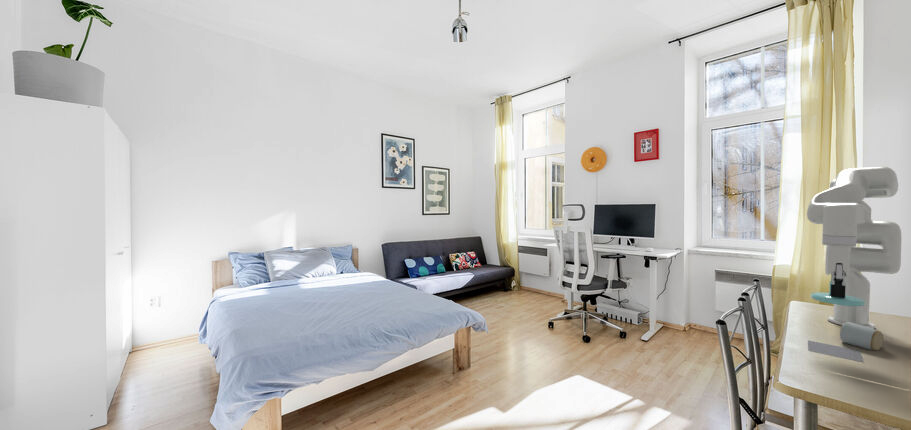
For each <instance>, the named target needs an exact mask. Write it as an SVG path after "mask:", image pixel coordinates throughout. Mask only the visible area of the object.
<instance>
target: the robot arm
mask: <svg viewBox="0 0 911 430" xmlns="http://www.w3.org/2000/svg"><path fill="white" fill-rule="evenodd" d="M898 181H899V180H898V177H897V174H896V171H894V170H893V169H892V168H890V167H888V166H874V167H873V166H872V167H871V166H870V167H853V168H848V169H844V170H842V171H840V172H838V173H837V175H836V176H835V178H834V179H833V180H831V182H830V183H829V188H828V189H827V190H824V191H822V192H819V193H817V194H815V195H814V196H813V197H812V198H811V199H810V201H809V204H808V207H807V210H806V217H807V219H808V221H809V223H810V222H811V223H812V224H814V225H815V224H816V225H822V236H821V237H822V238H821V240H822V241H821V242H822V243H821V244H822V245H823V246H826V249H825V264H824V265H825V267H824V268H825V269H824V270H825V274H826V275H827V276H830V281H832V284H831V294H830V295H831V296H832V297H839V298H845V295H848V296H853V297H857V298H860V299H863V300H865V305H864V306H845V305H837V304H833V312H832V313H833V315H829V316H828V317H827V320H828V321H829V322H830V323H833V324H835V325H838V326H841V327H842V326H843V324H844V323H846V322H851V323H855V324H858V325H862V326H865V327H869V328H872V329H875V327H876V325H875V324H874V323H873V322H870V302H871V301H870V297H871V283H870V281H869V280H868V278H867V277H866V276H865V275H864V274H862V273H863V272H864V273H874V274H875V273H876V274H884V275H885V274H887V275H894V274H897V273H898V272H899V271H900V269H901V264H902V263H901V261H902V229H901V227H900V225H899V224H898V223H896V222H893V221H888V220H887V221H886V220H872V208H871V206H870V205H869V204H867V203H866V202H865V201H864V199H866V198H867V199H868V198H869V199H871V198H872V199H876V198H877V199H879V198H881V199H882V198H886V199H887V198H892V197H893V196H895V195H896V194H897V192H898V191H899V182H898ZM857 245H870V246H871V245H872V246H880V247H882V248H873V247H871V248H870V247H861V246H858V247H857ZM845 283H846V291H845Z"/></svg>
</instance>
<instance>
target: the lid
mask: <svg viewBox="0 0 911 430" xmlns="http://www.w3.org/2000/svg"><path fill="white" fill-rule="evenodd" d="M831 284H832V281H831V280H830V281H829V284H828V285H829V287H828V291H829V292H818V291H817V292H812V293H811V294H810V298H811V299H812V300H815V301H817V302H822V303H827V304H831V305H834V304H837V305H845V306H864V305H865V300H863V299H860V298H857V297H853V296H848V295H845V298H839V297H832V296H831V295H830V294H831ZM845 291H846V283H845Z"/></svg>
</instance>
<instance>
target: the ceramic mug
mask: <svg viewBox="0 0 911 430" xmlns="http://www.w3.org/2000/svg"><path fill="white" fill-rule="evenodd" d="M839 339H840V341H841V342H842V343H843V344H848V345H852V346H855V347H859V348H862V349H866V350H870V351H879V350H881V348H882V346H883V343H884V334H883V333H882V332H881V331H880V330H877V329H875V328H874V329H872V328H869V327H865V326H862V325H858V324H855V323H851V322H846V323H844V324H843V326H842V325H841V328H840V331H839Z"/></svg>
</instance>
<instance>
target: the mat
mask: <svg viewBox="0 0 911 430" xmlns="http://www.w3.org/2000/svg"><path fill="white" fill-rule="evenodd" d="M807 350H808V351H809V352H813V353H817V354H822V355H828V356H831V357H836V358H841V359H846V360H849V361H850V360H851V361H855V362H860V363H865V362H864V358H863V356H862V353H861V351H860V349H854V348H849V347H844V346H838V345H833V344H830V343H823V342H818V341H814V340H807Z"/></svg>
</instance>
